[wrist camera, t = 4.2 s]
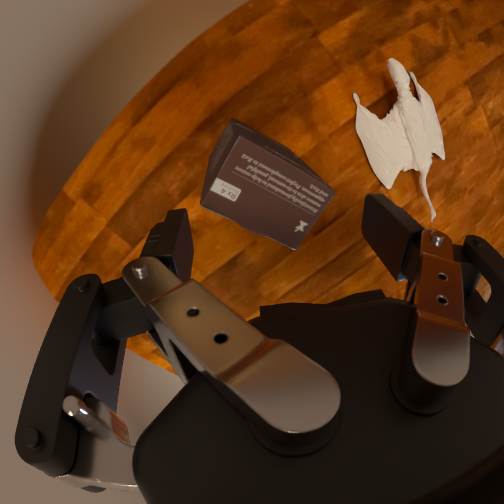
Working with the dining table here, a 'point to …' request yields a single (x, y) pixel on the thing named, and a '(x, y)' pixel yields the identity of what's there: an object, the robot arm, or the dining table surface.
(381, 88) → the dining table surface
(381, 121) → the white dragon
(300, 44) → the dining table surface
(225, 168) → the box
